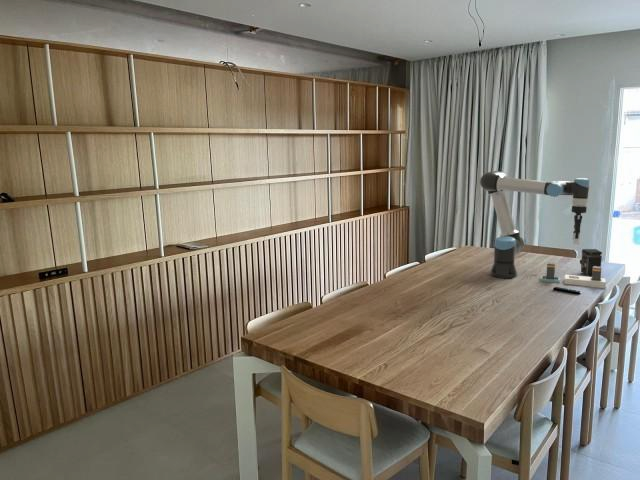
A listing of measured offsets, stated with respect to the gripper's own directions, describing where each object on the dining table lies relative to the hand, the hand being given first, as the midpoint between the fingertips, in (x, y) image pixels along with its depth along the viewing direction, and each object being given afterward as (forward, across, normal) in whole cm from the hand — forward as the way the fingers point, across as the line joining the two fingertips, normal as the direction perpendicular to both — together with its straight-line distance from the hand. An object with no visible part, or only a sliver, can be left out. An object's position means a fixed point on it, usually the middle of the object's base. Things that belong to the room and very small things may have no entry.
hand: (575, 242), depth 271 cm
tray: (+23, -8, +11) cm, 27 cm away
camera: (+22, +17, -10) cm, 30 cm away
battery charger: (+22, -9, -6) cm, 25 cm away
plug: (+22, -8, +11) cm, 26 cm away
